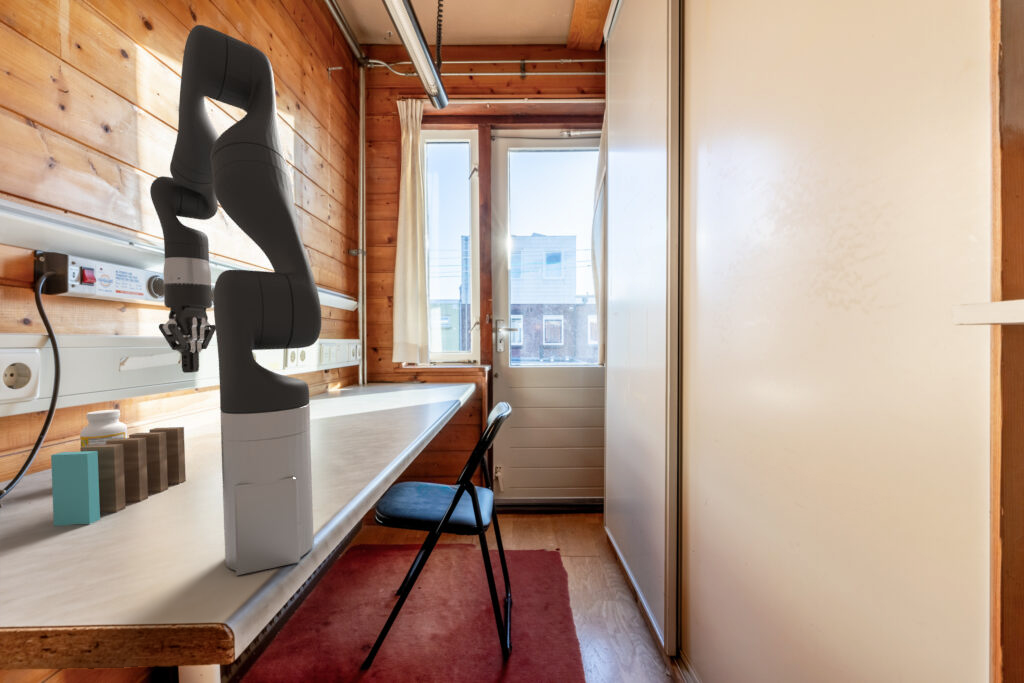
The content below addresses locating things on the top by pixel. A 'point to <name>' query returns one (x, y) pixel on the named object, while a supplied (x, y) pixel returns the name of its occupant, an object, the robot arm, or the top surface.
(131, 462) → the domino
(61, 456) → the domino
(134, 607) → the top surface
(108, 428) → the supplement bottle
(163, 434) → the domino
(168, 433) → the domino
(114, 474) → the domino
